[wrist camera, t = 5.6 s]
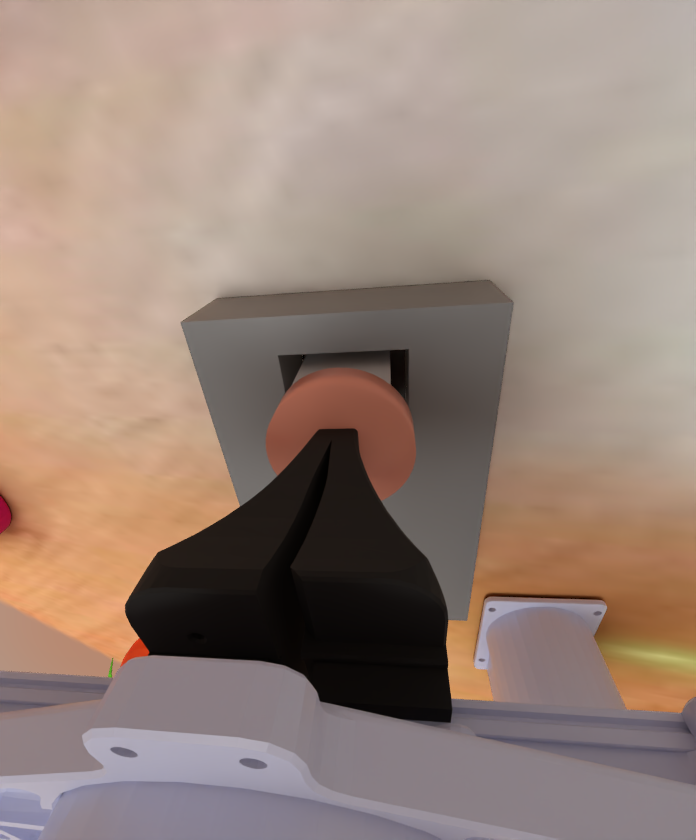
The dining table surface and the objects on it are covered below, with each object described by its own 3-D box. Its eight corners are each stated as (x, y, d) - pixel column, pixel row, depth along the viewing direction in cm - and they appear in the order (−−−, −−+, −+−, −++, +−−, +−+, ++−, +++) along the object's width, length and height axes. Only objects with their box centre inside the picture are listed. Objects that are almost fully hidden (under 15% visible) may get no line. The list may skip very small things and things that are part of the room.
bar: (457, 570, 26) (467, 620, 23) (287, 566, 27) (274, 613, 24) (489, 280, 16) (513, 302, 13) (216, 298, 17) (180, 322, 14)
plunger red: (408, 432, 18) (415, 508, 14) (304, 434, 19) (280, 507, 15) (408, 328, 16) (416, 383, 11) (286, 334, 16) (250, 389, 12)
